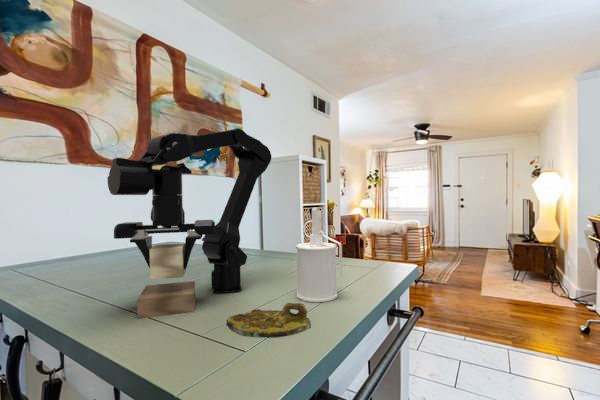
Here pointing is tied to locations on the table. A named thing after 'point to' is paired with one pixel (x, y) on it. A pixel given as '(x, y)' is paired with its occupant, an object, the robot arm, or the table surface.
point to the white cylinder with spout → (317, 264)
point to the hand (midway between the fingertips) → (169, 270)
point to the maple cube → (167, 261)
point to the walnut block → (166, 299)
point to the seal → (271, 322)
